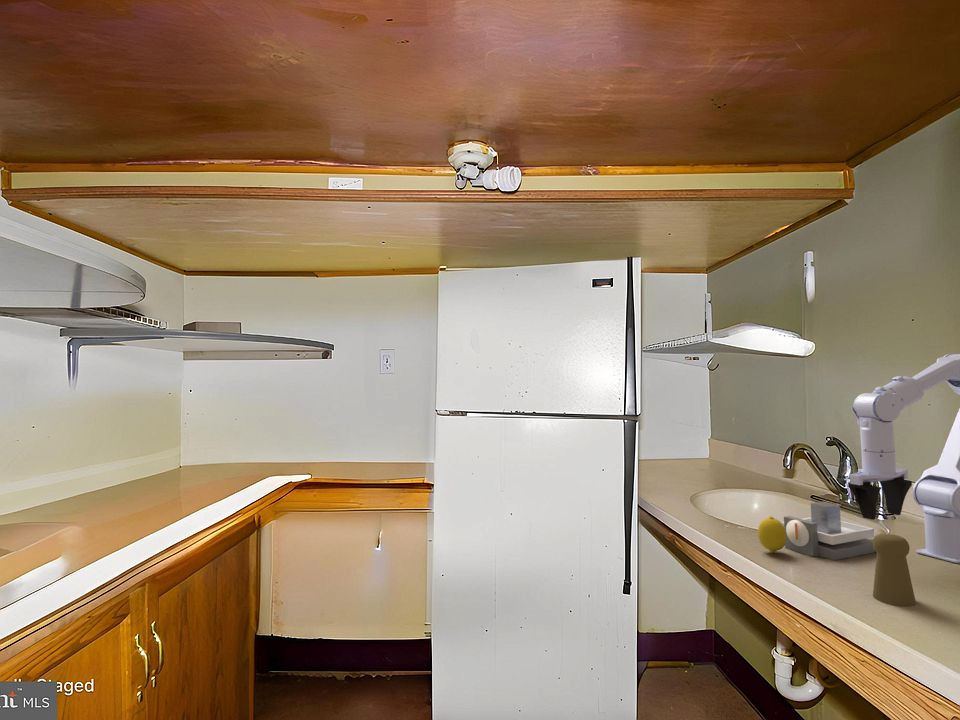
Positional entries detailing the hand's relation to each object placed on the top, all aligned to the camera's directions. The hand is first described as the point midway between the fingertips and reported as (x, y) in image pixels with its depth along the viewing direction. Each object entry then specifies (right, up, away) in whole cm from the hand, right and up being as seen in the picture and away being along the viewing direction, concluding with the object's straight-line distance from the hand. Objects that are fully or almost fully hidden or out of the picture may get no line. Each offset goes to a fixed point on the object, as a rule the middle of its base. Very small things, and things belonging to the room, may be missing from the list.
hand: (881, 516), depth 114 cm
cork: (-11, -9, -18) cm, 23 cm away
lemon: (-18, -11, +8) cm, 23 cm away
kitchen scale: (-6, -10, +10) cm, 15 cm away
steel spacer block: (-5, -6, +11) cm, 13 cm away
